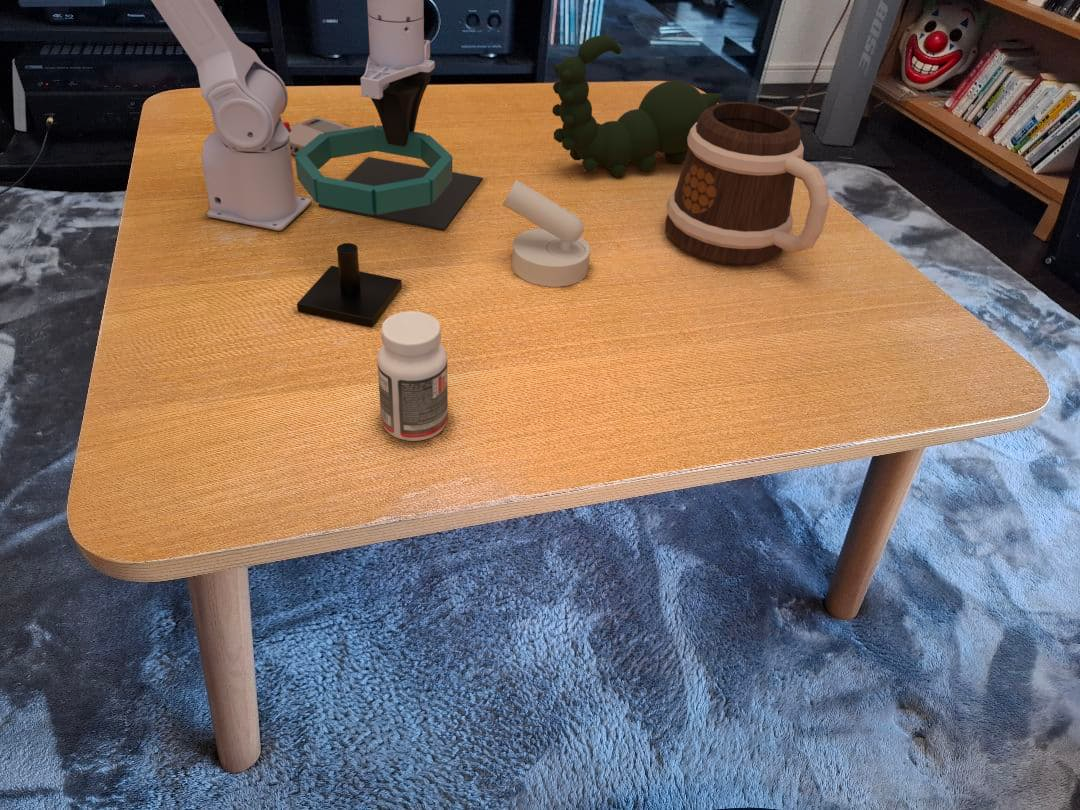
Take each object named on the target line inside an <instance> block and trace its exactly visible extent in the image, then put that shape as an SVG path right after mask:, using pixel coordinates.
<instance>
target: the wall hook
mask: <svg viewBox="0 0 1080 810" xmlns="http://www.w3.org/2000/svg"><path fill="white" fill-rule="evenodd" d="M502 206H503V207H505V208H507V209H509V210H510V211H512V212H514V213H515V214H517V215H518V216H520V217H522V218H524V219H526V220H527V221H529V222H531V223H532V224H534V225H535V226H537V227H538V228H533V229H527V230H525V231H523V232H521V233H519V234H518V235H517V236H516V237H515V238H514V240H513V241H512V251H511V252H512V253H511V269H512V271H513V272H514V274H515V275H516V276H518V277H519V278H520V279H522V280H523V281H525V282H528V283H530V284H534V285H537V286H541V287H549V288H559V287H560V288H561V287H569V286H572V285H575V284H577V283H579V282H581V281H582V280H584V279H585V278H586V276H587V274H588V271H589V265H590V255H591V247H590V245H589V243H588V241H586V240H585V239H584V238H583V237H582V234H583V233H584V230H585V227H584V223H583V221H582V220H581V218H580V217H579V216H578V215H576V214H575V213H573V212H571V211H570V210H569V209H566V208H565V207H563V206H561V205H560V204H559V203H557V202H554V201H553V200H551V199H550V198H548V197H546V196H545V195H543V194H542V193H539V192H538V191H536V190H535V189H533V188H531V187H530V186H528V185H526V184H524V183H523V182H521V181H520V180H518V179H515V181H514V183H513V185H512V187H511V188H510V190H509V192H508V193H507V195H506V197H505V199H504V200H503V202H502Z"/></svg>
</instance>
